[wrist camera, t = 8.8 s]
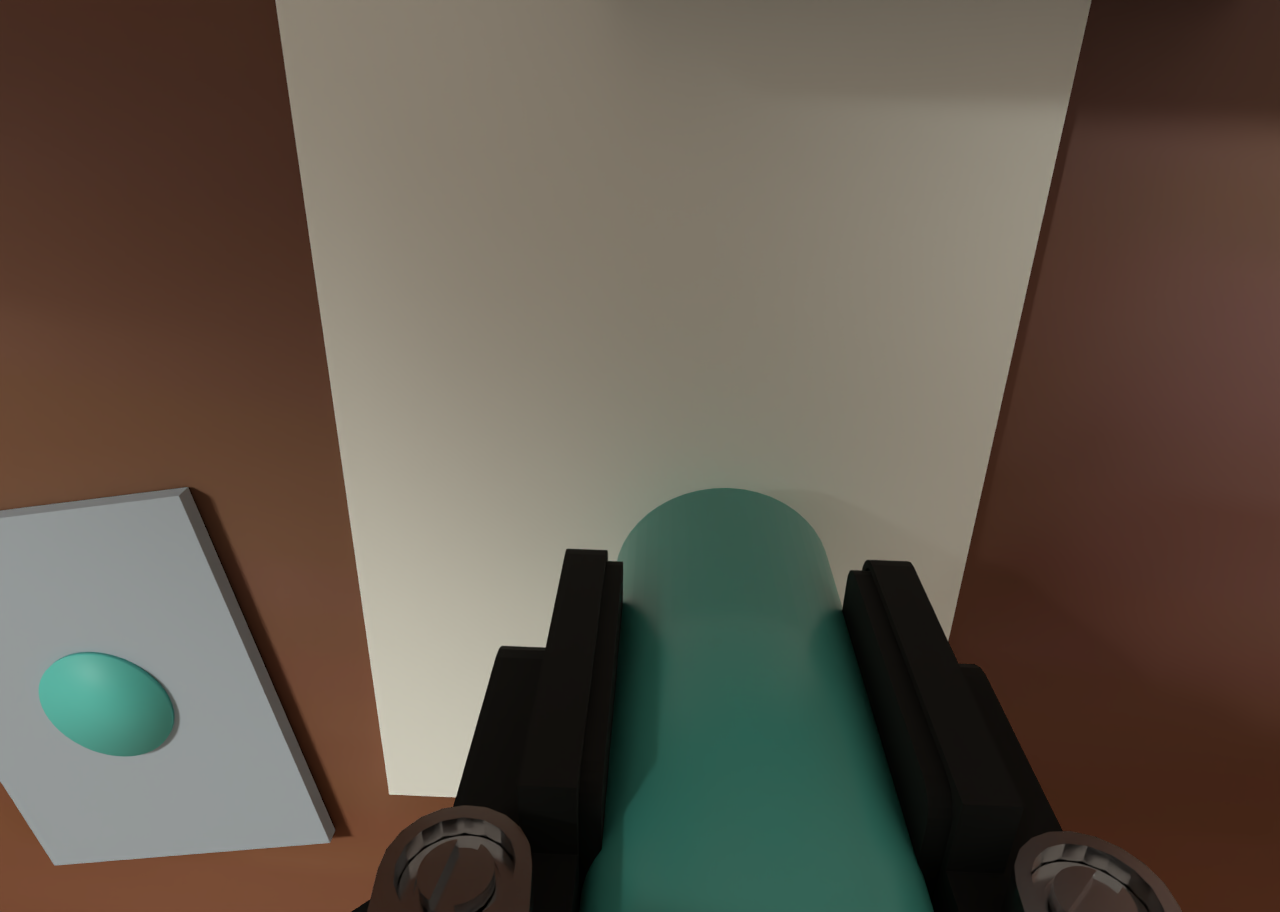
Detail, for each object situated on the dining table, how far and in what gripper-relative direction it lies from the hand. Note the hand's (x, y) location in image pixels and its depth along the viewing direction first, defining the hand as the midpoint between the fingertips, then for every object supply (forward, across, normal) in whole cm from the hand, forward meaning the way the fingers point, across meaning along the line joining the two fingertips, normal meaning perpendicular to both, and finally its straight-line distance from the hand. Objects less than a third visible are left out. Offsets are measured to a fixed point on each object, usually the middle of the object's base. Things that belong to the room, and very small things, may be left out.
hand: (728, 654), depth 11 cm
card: (+3, +11, +4) cm, 12 cm away
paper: (+3, +1, -1) cm, 3 cm away
